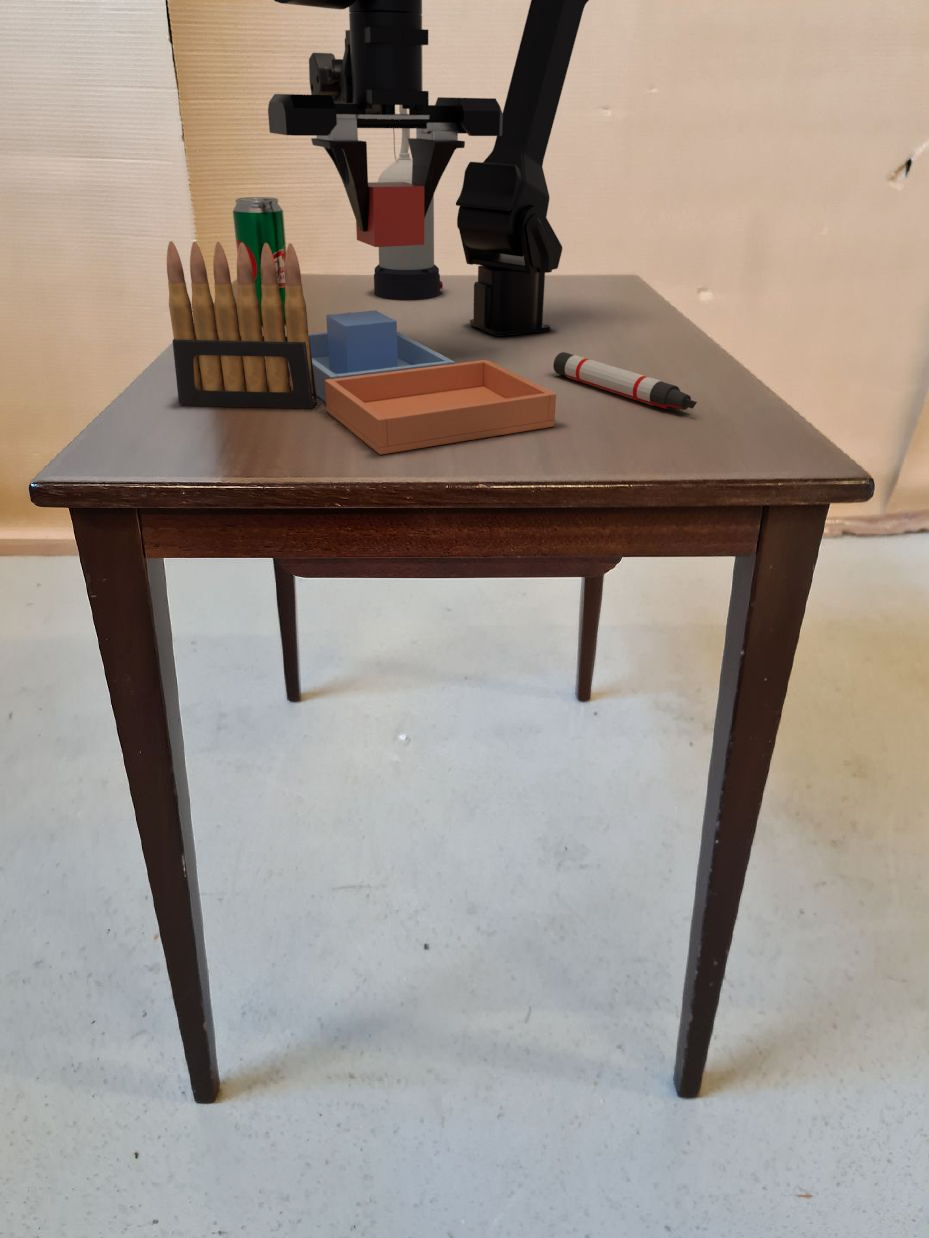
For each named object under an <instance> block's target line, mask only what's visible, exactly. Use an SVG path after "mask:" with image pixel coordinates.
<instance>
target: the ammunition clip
mask: <svg viewBox="0 0 929 1238" xmlns="http://www.w3.org/2000/svg"><path fill="white" fill-rule="evenodd" d="M286 250H287V251H286V257H285V294H286V296H285V319H286V322H285V323H284V314H283V305H282V301H281V297H280V293H279V285H278V280H277V272H276V266H275V262H274V258H273V255H272V252H271V249H270V247H269V245H268V244H267V243H265V244H264V246H263V250H262V256H261V282H262V284H261V288H262V300H261V312H262V322H263V325H261V316H260V307H259V302H258V298H257V295H256V289H255V283H254V277H253V270H252V265H251V261H250V257H249V254H248V251H247V249H246V247H245V245H244V243H242V242H241V243H240V245H239V248H238V255H237V254H236V255H237V256H236V278H237V279H236V280H237V301H236V297H235V294H234V290H233V285H232V284H233V283H232V280H231V279H232V278H231V271H230V266H229V263H228V258H227V256H226V255H227V254H226V253H225V249H224V247H223V245H222V244H221V242H219V241H217V242H216V243H215V247H214V251H213V262H212V263H213V265H212V266H213V279H214V280H213V281H214V283H213V285H214V300H213V297H212V294H211V289H210V288H211V287H210V283H209V280H208V273H207V267H206V263H205V259H204V256H203V253H202V251H201V249H200V246H199V244H198V243H197V242H196V241H193V242H192V244H191V248H190V254H189V255H190V256H189V271H190V272H189V273H190V281H191V283H190V286H191V299H190V296H189V292H188V287H187V282H186V277H185V273H184V272H185V271H184V268H183V263H182V260H181V256H180V254H179V251H178V249H177V247H176V245H175V243H174V241H172V240H170V241H169V242H168V245H167V250H166V274H167V280H168V282H167V286H168V295H169V296H168V308H169V313H170V322H171V328H172V336H173V339H172V347H173V348H172V349H173V360H174V369H175V380H176V388H177V389H176V390H177V396H178V397H177V399H178V404H179V405H180V406H184V407H185V406H187V407H224V408H225V407H231V408H233V407H234V408H237V407H238V408H271V409H272V408H275V409H313V408H314V407H315V405H316V403H317V401H318V398H317V397H318V396H317V395H316V388H315V380H314V372H313V364H312V356H311V348H310V340H309V335H308V334H309V323H308V313H307V311H308V310H307V305H306V304H307V303H306V300H305V296H304V290H303V284H302V273H301V267H300V263H299V258H298V255H297V252H296V249H295V247H294V245H293V244H292V243H291V242H290V243H288V245H287V246H286ZM286 336H287V337H286ZM288 362H289V367H290V374H289V367H288Z"/></svg>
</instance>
